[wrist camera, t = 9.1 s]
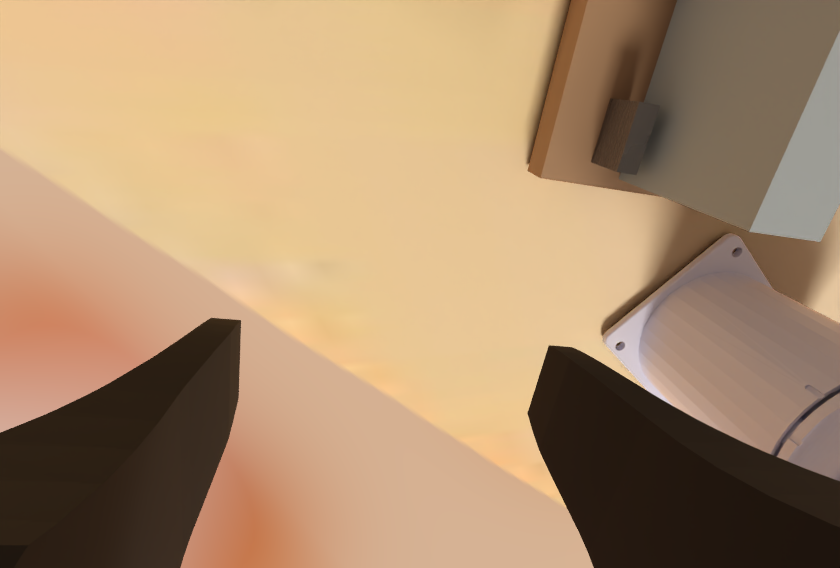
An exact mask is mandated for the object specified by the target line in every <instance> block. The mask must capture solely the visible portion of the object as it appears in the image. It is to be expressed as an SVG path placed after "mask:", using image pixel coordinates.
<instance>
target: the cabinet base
mask: <svg viewBox="0 0 840 568" xmlns="http://www.w3.org/2000/svg"><path fill="white" fill-rule="evenodd" d="M676 2H677V0H571V2H570V6H569V10H568V14H567V18H566V22H565V26H564V30H563V34H562V38H561V42H560V46H559V50H558V53H557V57H556V61H555V65H554V69H553V73H552V77H551V81H550V85H549V89H548V93H547V97H546V101H545V105H544V108H543V112H542V116H541V120H540V124H539V128H538V132H537V136H536V140H535V144H534V148H533V152H532V156H531V160H530V164H529V167H528V171H529V172H531V173H533V174H534V175H536V176H538V177H540V178H544V179H550V180H557V181H563V182H570V183H576V184H583V185H589V186H596V187H602V188H609V189H615V190H622V191H628V192H634V193H641V194H647V195H654V196H659V195H657V194H654V193H652V192H649V191H647V190H644V189H642V188H639V187H637V186H634V185H632V184H629V183H627V182H624V181H622V180H620V179H619V176H620V173H619V172H615V171H613V170H610V169H607V168H605V167H602V166H599V165H597V164H594V163H592V162H591V161H592V157H593V154H594V151H595V148H596V144H597V141H598V138H599V134H600V131H601V128H602V124H603V121H604V118H605V114H606V111H607V108H608V105H609V101H610V98H611V99H620V100H629V101H638V102H644V100H645V97H646V94H647V91H648V88H649V85H650V82H651V79H652V76H653V73H654V70H655V66H656V63H657V60H658V57H659V54H660V51H661V48H662V45H663V42H664V39H665V36H666V33H667V30H668V27H669V24H670V21H671V18H672V15H673V11H674V8H675V5H676ZM660 197H662V196H660Z"/></svg>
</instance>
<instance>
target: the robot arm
mask: <svg viewBox="0 0 840 568" xmlns="http://www.w3.org/2000/svg"><path fill="white" fill-rule="evenodd" d="M735 248H736V251H735V252H734V253H733V254H732V252H733V250H734V249H735ZM240 333H241V320H229V319H217V318H210V319H209V320H207V321H206V322H204V323H203V324H201V325H200V326H198V327H197V328H195V329H194V330H193V331H191V332H190V333H188V334H187V335H185V336H184V337H183V338H181V339H180V340H178V341H177V342H175V343H174V344H172V345H171V346H169V347H168V348H166V349H165V350H163V351H162V352H160V353H159V354H158V355H156V356H154V357H153V358H151V359H150V360H148V361H146V362H144V363H143V364H141V365H139V366H138V367H136V368H134V369H133V370H131V371H129V372H128V373H126V374H124V375H123V376H121V377H119V378H117V379H116V380H114V381H112V382H111V383H109V384H107V385H105V386H104V387H101V388H100V389H98V390H96V391H94V392H92V393H90V394H88V395H86V396H84V397H82V398H80V399H78V400H76V401H74V402H72V403H69V404H67V405H65V406H63V407H61V408H59V409H57V410H55V411H52V412H50V413H48V414H46V415H43V416H41V417H38V418H36V419H33V420H31V421H28V422H26V423H24V424H21V425H19V426H16V427H14V428H11V429H9V430H6V431H4V432H1V433H0V568H180V567H181V563H182V560H183V557H184V554H185V551H186V548H187V545H188V542H189V539H190V536H191V534H192V531H193V528H194V526H195V523H196V521H197V518H198V516H199V513H200V511H201V508H202V506H203V503H204V500H205V498H206V495H207V493H208V490H209V488H210V485H211V483H212V480H213V477H214V475H215V473H216V470H217V467H218V464H219V462H220V460H221V457H222V454H223V452H224V449H225V447H226V444H227V441H228V439H229V435H230V431H231V427H232V423H233V419H234V414H235V410H236V406H237V402H238V395H239V393H238V392H239V364H240ZM603 342H604V344H605V345H606V346H607V347H608V348H609V349H610V350H611V352H612V353H613V354H614V355H615V356H616V357H617V358H618V359H619V360H620V361H621V362H622V364H623V365H624V366H625V367H626V368H627V369H628V370H629V371H630V372H631V373H632V374H633V376H634V377H635V378H636V379H637V380H638V381H639V382H640V383H641V384H642V385H643V386H644V388H645V389H646V390H645V389H643V388H642V387H640V386H638V385H637V384H635V383H633V382H632V381H630V380H629V379H627V378H625V377H624V376H622V375H620V374H619V373H617V372H616V371H614V370H612V369H611V368H609V367H607V366H606V365H604V364H602V363H601V362H599V361H597V360H596V359H594V358H592V357H590V356H589V355H587V354H585V353H583V352H581V351H579V350H577V349H574V348H572V347H561V346H549V347H548V350H547V353H546V357H545V360H544V363H543V366H542V369H541V373H540V376H539V379H538V382H537V385H536V388H535V392H534V395H533V398H532V401H531V404H530V407H529V411H528V416H529V420H530V423H531V426H532V430H533V433H534V436H535V439H536V442H537V445H538V448H539V451H540V453H541V455H542V457H543V459H544V461H545V463H546V466H547V468H548V470H549V472H550V474H551V476H552V478H553V480H554V482H555V484H556V486H557V488H558V490H559V492H560V494H561V496H562V498H563V501H564V503H565V505H566V507H567V509H568V511H569V513H570V515H571V516H572V519H573V521H574V523H575V525H576V527H577V529H578V531H579V533H580V535H581V537H582V540H583V542H584V544H585V547H586V548H587V551H588V553H589V556H590V559H591V561H592V564H593V566H594V568H840V323H838V322H836V321H834V320H832V319H830V318H828V317H826V316H824V315H822V314H820V313H819V312H817V311H815V310H813V309H811V308H809V307H807V306H805V305H803V304H801V303H799V302H797V301H795V300H793V299H791V298H789V297H787V296H785V295H784V294H782V293H780V292H778V291H776V290H774V289H773V288H772V286H771V285H770V283H769V282H768V280H767V278H766V277H765V275H764V274H763V272H762V271H761V269H760V267H759V266H758V264H757V263H756V261H755V260H754V258H753V256H752V255H751V253H750V252H749V250H748V248H747V247H746V245H745V244H744V242H743V241H742V239H741V238H740V237H739V236H738V235H735V234H732V233H729V234H726V235H724V236H722V237H721V238H720V239H719V240H718V241H716V242H715V243H714V244H713V245H711V246H710V247H709V248H708V249H707V250H705V251H704V252H703V253H702V254H700V255H699V256H698V257H697V258H695V259H694V260H693V261H692V262H691V263H689V264H688V265H687V266H686V267H684V268H683V269H682V270H681V271H680V272H678V273H677V274H676V275H675V276H673V277H672V278H671V279H670V280H669V281H667V282H666V283H665V284H664V285H662V286H661V287H660V288H659V289H658V290H656V291H655V292H654V293H653V294H651V295H650V296H649V297H648V298H646V299H645V300H644V301H643V302H642V303H640V304H639V305H638V306H637V307H635V308H634V309H633V310H632V311H631V312H629V313H628V314H627V315H626V316H624V317H623V318H622V319H621V320H620V321H618V322H617V323H616V324H615V325H613V326H612V327H611V328H610V329H608V330H607V331H606V332H605V333H604V335H603ZM619 342H621V343H620V345H618V346H616V344H617V343H619Z"/></svg>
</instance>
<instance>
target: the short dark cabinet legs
mask: <svg viewBox="0 0 840 568" xmlns="http://www.w3.org/2000/svg"><path fill="white" fill-rule="evenodd" d="M659 108H660V106H659V105H654V104H649V103H644V102H638V101H629V100H620V99H611V98H610V101H609V105H608V108H607V111H606V114H605V118H604V121H603V124H602V128H601V131H600V134H599V138H598V141H597V144H596V148H595V151H594V154H593V157H592V161H591V162H592V163H594V164H597V165H599V166H602V167H605V168H607V169H610V170H613V171H615V172H619V173H625V174H632V175H637V172H638V169H639V166H640V163H641V161H642V158H643V155H644V152H645V149H646V146H647V143H648V140H649V137H650V134H651V131H652V128H653V125H654V122H655V120H656V117H657V114H658V111H659Z"/></svg>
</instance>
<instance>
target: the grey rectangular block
mask: <svg viewBox="0 0 840 568" xmlns="http://www.w3.org/2000/svg"><path fill="white" fill-rule="evenodd" d="M644 103H649V104H654V105H659V106H660V108H659V111H658V114H657V117H656V120H655V122H654V125H653V128H652V131H651V134H650V137H649V140H648V143H647V146H646V149H645V152H644V155H643V158H642V161H641V163H640V166H639V169H638V172H637V175H632V174H625V173H620V176H619V179H620V180H622V181H624V182H627V183H629V184H632V185H634V186H637V187H639V188H642V189H644V190H647V191H649V192H652V193H654V194H657V195H659V196H662V197H664V198H667V199H669V200H672V201H674V202H677V203H679V204H681V205H684V206H686V207H689V208H691V209H694V210H696V211H699V212H701V213H704V214H706V215H709V216H711V217H714V218H716V219H719V220H721V221H724V222H726V223H729V224H731V225H734V226H736V227H739V228H741V229H743V230H746V231H748V232H754V233H761V234H768V235H775V236H782V237H789V238H796V239H803V240H810V241H817V242H821V240H822V238H823V236H824V234H825V232H826V230H827V228H828V226H829V224H830V222H831V220H832V218H833V216H834V214H835V212H836V210H837V209H838V207H839V205H840V0H677V2H676V5H675V8H674V11H673V15H672V18H671V21H670V24H669V27H668V30H667V33H666V36H665V39H664V42H663V45H662V48H661V51H660V54H659V57H658V60H657V63H656V66H655V70H654V73H653V76H652V79H651V82H650V85H649V88H648V91H647V94H646V97H645V100H644Z"/></svg>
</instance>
